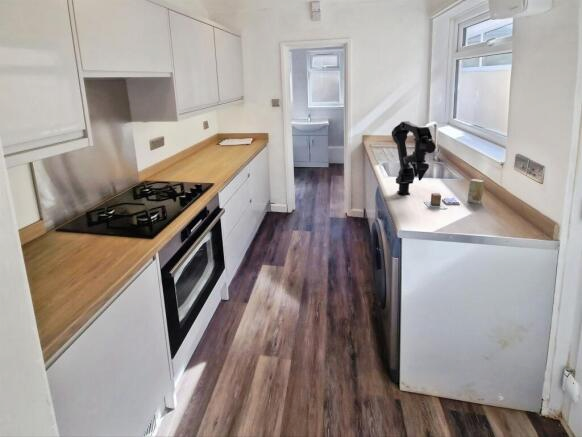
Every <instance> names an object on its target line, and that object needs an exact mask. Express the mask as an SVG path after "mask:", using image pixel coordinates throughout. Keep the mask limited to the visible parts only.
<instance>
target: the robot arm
mask: <svg viewBox="0 0 582 437" xmlns="http://www.w3.org/2000/svg"><path fill="white" fill-rule="evenodd" d="M409 133H412V136H414V138H413V141H415V142H414V151H413V152H412V154H409V155H408V150H407V145H406V144H407V143H406V141H407V138H408V135H409ZM391 137H392V140H393V142H394V143H395V144H396V148H397V153H398V160H399V161H398V162H399V166H400V168H399V171H398V176H397V177H396V178H395V183H396V184H397V185H398V190H397V191H396V192H397V194H398V195H406V196H407V195H409V196H410V195H411V193H410V184H414V180H415V178H416V177H418V182H419V181H422V179H423V178H424V175H425V174H426V172H427V171H428V169H429V168H430V164H429V163H427V162H426V155H427V154H433V153H434V152H435V150H436V149H437V146H436V144H435V142H433V135H432V133H431V129H430V127H429V126H427V125H418V124H415V123H412V122H410V121H407V120H406V121H401V122H400V123H399V124H397V125H396V126H395V127H393V129H392V131H391ZM410 165H411V166H412V167H411V166H410Z"/></svg>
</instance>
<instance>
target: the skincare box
mask: <svg viewBox="0 0 582 437" xmlns="http://www.w3.org/2000/svg"><path fill="white" fill-rule="evenodd" d="M484 187H485V180H483V179H477V178H472V179H470V182H469V187H468V194H467V202H470V203H474V204H480V203H482V198H483V192H484V189H485V188H484ZM479 202H480V203H479Z"/></svg>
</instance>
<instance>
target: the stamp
mask: <svg viewBox="0 0 582 437" xmlns="http://www.w3.org/2000/svg"><path fill="white" fill-rule="evenodd" d="M430 195H431V196H430V202H431V203H430V204H431V205H432V206H440V202H441V201H442V194H441V193H440V192H435V193H434V192H432V193H431V194H430ZM441 203H442V202H441Z"/></svg>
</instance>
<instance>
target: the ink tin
mask: <svg viewBox="0 0 582 437" xmlns="http://www.w3.org/2000/svg"><path fill="white" fill-rule="evenodd" d="M441 201H442V203H444V204H445V206H446V205H447V206H451V205H452V206H457V205H458V206H459V205H461V202H460V201H459V200H458V199H456V198H455V197H441Z"/></svg>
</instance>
